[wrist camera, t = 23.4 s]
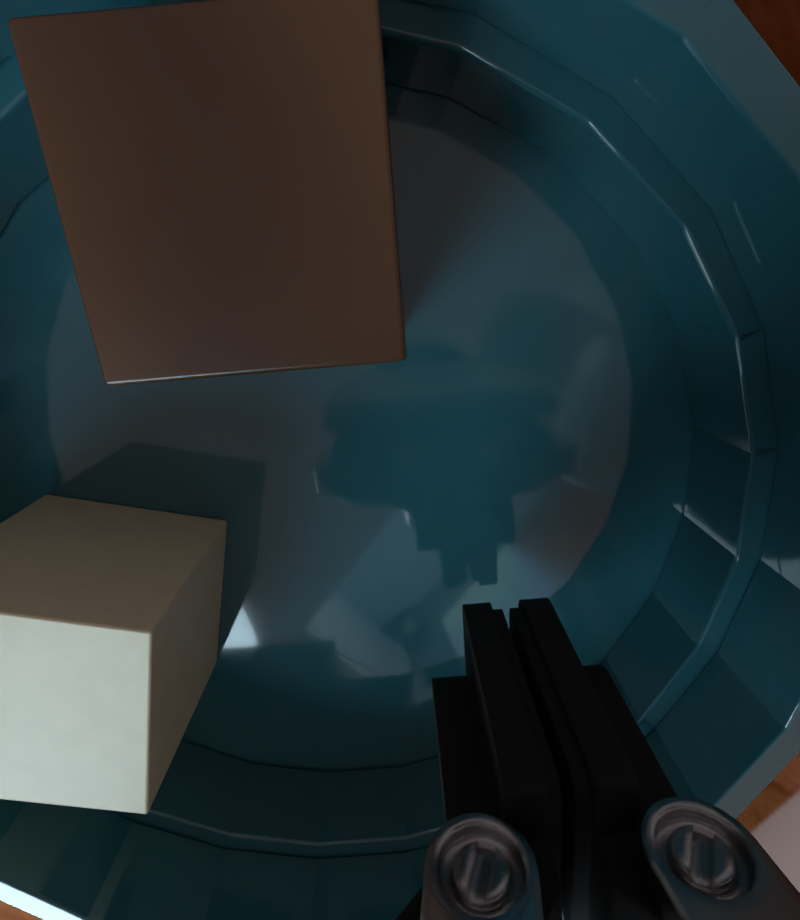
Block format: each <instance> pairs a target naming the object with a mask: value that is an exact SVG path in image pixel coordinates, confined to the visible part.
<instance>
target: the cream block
mask: <svg viewBox="0 0 800 920" xmlns="http://www.w3.org/2000/svg"><path fill="white" fill-rule="evenodd" d="M226 528H227V522H226V521H224V520H218V519H211V518H204V517H197V516H190V515H183V514H177V513H170V512H163V511H156V510H149V509H142V508H136V507H129V506H122V505H115V504H108V503H101V502H95V501H88V500H81V499H74V498H67V497H60V496H54V495H45V496H43V497H42V498H40V499H39V500H37V501H35V502H34V503H32V504H31V505H29V506H27V507H26V508H24V509H23V510H21V511H19V512H18V513H16V514H15V515H13V516H11V517H10V518H8V519H7V520H5V521H3V522H2V523H0V799H6V800H16V801H25V802H35V803H44V804H54V805H63V806H73V807H83V808H92V809H102V810H111V811H121V812H130V813H140V814H147V813H148V812H149V810H150V808H151V805H152V803H153V801H154V799H155V797H156V794H157V792H158V790H159V788H160V785H161V783H162V781H163V779H164V777H165V774H166V772H167V770H168V768H169V766H170V763H171V761H172V759H173V757H174V755H175V752H176V750H177V748H178V746H179V744H180V741H181V739H182V737H183V735H184V733H185V730H186V728H187V726H188V724H189V722H190V719H191V717H192V715H193V713H194V711H195V708H196V706H197V704H198V702H199V700H200V697H201V695H202V693H203V691H204V689H205V686H206V684H207V682H208V680H209V677H210V675H211V673H212V671H213V669H214V666H215V664H216V662H217V651H218V638H219V624H220V610H221V596H222V583H223V569H224V555H225V542H226Z"/></svg>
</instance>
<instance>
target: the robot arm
mask: <svg viewBox="0 0 800 920" xmlns="http://www.w3.org/2000/svg"><path fill="white" fill-rule="evenodd" d="M462 615H463V633H464V651H465V669H466V675H464V676H452V677H440V678H432V689H433V702H434V714H435V725H436V736H437V747H438V757H439V767H440V777H441V787H442V797H443V806H444V816H445V824H444V825H443V826H442V827H441V828H440V829H439V830H437V832H436V834H435V835H434V837H433V839H432V841H431V842H430V844H429V846H428V851H427V855H426V859H425V866H424V878H423V886H422V887H421V888H420V890H419V891H418V892H417V893H416V895H415V896H414V897H413V898H412V900H411V901H410V902H409V903H408V905H407V906H406V907H405V908H404V910H403V911H402V912H401V913H400V915H399V916H398V917H397V919H396V920H562V912H563V916H564V920H800V893H799V892H798V891H797V890H796V888H795V887H794V886H793V885H792V883H791V882H790V881H789V880H788V878H787V877H786V876H785V875H784V874H783V872H782V871H781V870H780V869H779V867H778V866H777V865H776V864H775V862H774V861H773V860H772V859H771V857H770V856H769V855H768V854H767V853H766V851H765V850H764V849H763V848H762V846H761V845H760V844H759V843H758V841H757V840H756V839H755V838H754V837H753V836H752V835H751V834H750V832H749V831H748V830H747V829H746V828H745V827H744V826H743V825H742V824H741V823H740V822H739V821H737V820H736V819H735V818H733V817H732V816H730V815H729V814H727V813H726V812H724V811H723V810H721V809H720V808H718V807H716V806H713V805H711V804H709V803H706V802H704V801H702V800H698V799H693V798H688V797H678V796H677V795H676V793H675V791H674V789H673V787H672V786H671V784H670V782H669V780H668V778H667V777H666V775H665V773H664V771H663V769H662V768H661V766H660V764H659V762H658V760H657V759H656V757H655V755H654V753H653V751H652V750H651V748H650V746H649V744H648V742H647V741H646V739H645V737H644V735H643V733H642V732H641V730H640V728H639V726H638V724H637V723H636V721H635V719H634V717H633V715H632V714H631V712H630V710H629V708H628V706H627V704H626V703H625V701H624V699H623V697H622V695H621V694H620V692H619V690H618V688H617V686H616V685H615V683H614V681H613V679H612V677H611V676H610V674H609V672H608V671H607V669H606V668H605V667H604V666H603V665H601V664H598V665H586V666H582V664H581V662H580V659H579V657H578V655H577V653H576V651H575V649H574V647H573V645H572V643H571V641H570V639H569V637H568V635H567V633H566V631H565V629H564V627H563V625H562V623H561V621H560V619H559V617H558V615H557V613H556V611H555V609H554V607H553V605H552V603H551V601H550V600H549V598H535V599H523V600H519V603H518V608H510V610H509V627H508V624H507V621H506V618H505V615H504V613H503V610H502V609H494V610H493V608H492V605H491V603H490V602H487V603H475V604H463V605H462Z"/></svg>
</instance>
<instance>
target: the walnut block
mask: <svg viewBox="0 0 800 920" xmlns="http://www.w3.org/2000/svg"><path fill="white" fill-rule="evenodd" d="M8 26H9V30H10V33H11V37H12V41H13V45H14V48H15V52H16V56H17V59H18V63H19V67H20V70H21V74H22V78H23V82H24V85H25V89H26V93H27V96H28V100H29V104H30V107H31V111H32V115H33V119H34V122H35V126H36V130H37V133H38V137H39V141H40V144H41V148H42V152H43V156H44V159H45V163H46V167H47V170H48V174H49V178H50V181H51V185H52V189H53V193H54V196H55V200H56V204H57V207H58V211H59V215H60V218H61V222H62V226H63V229H64V233H65V237H66V241H67V244H68V248H69V252H70V255H71V259H72V263H73V266H74V270H75V274H76V278H77V281H78V285H79V289H80V292H81V296H82V300H83V303H84V307H85V311H86V315H87V318H88V322H89V326H90V329H91V333H92V337H93V340H94V344H95V348H96V352H97V355H98V359H99V363H100V366H101V370H102V374H103V377H104V381H105V383H106V384H107V385H111V386H117V385H128V384H140V383H152V382H164V381H176V380H187V379H199V378H211V377H223V376H234V375H246V374H258V373H270V372H281V371H293V370H305V369H317V368H329V367H340V366H352V365H364V364H376V363H387V362H399V361H403V360H405V359H406V356H407V353H406V340H405V327H404V314H403V301H402V288H401V275H400V262H399V249H398V236H397V223H396V209H395V196H394V183H393V170H392V157H391V144H390V131H389V118H388V105H387V92H386V79H385V66H384V53H383V40H382V27H381V14H380V1H379V0H202V1H191V2H180V3H169V4H159V5H148V6H137V7H126V8H115V9H105V10H94V11H83V12H72V13H61V14H50V15H40V16H29V17H18V18H11V19H9V20H8Z"/></svg>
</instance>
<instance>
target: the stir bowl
mask: <svg viewBox="0 0 800 920" xmlns="http://www.w3.org/2000/svg"><path fill="white" fill-rule="evenodd" d="M191 1H202V0H0V523H2V522H3V521H5V520H7V519H8V518H10V517H11V516H13V515H15V514H16V513H18V512H19V511H21V510H23V509H24V508H26V507H27V506H29V505H31V504H32V503H34V502H35V501H37V500H39V499H40V498H42V497H43V496H45V495H54V496H60V497H67V498H74V499H81V500H88V501H95V502H101V503H108V504H115V505H122V506H129V507H136V508H142V509H149V510H156V511H163V512H170V513H177V514H183V515H190V516H197V517H204V518H211V519H218V520H224V521H226V522H227V528H226V542H225V555H224V569H223V583H222V596H221V610H220V624H219V638H218V651H217V662H216V664H215V666H214V669H213V671H212V673H211V675H210V677H209V680H208V682H207V684H206V686H205V689H204V691H203V693H202V695H201V697H200V700H199V702H198V704H197V706H196V708H195V711H194V713H193V715H192V717H191V719H190V722H189V724H188V726H187V728H186V730H185V733H184V735H183V737H182V739H181V741H180V744H179V746H178V748H177V750H176V752H175V755H174V757H173V759H172V761H171V763H170V766H169V768H168V770H167V772H166V774H165V777H164V779H163V781H162V783H161V785H160V788H159V790H158V792H157V794H156V797H155V799H154V801H153V803H152V805H151V808H150V810H149V812H148V813H147V814H140V813H130V812H121V811H111V810H102V809H92V808H83V807H73V806H63V805H54V804H44V803H35V802H25V801H16V800H6V799H0V901H2V902H5V903H7V904H9V905H11V906H14V907H16V908H18V909H20V910H23V911H25V912H27V913H29V914H31V915H34V916H36V917H38V918H40V919H43V920H396V919H397V917H398V916H399V915H400V913H401V912H402V911H403V910H404V908H405V907H406V906H407V905H408V903H409V902H410V901H411V900H412V898H413V897H414V896H415V895H416V893H417V892H418V891H419V890H420V888H421V887H422V886H423V878H424V866H425V859H426V855H427V851H428V846H429V844H430V842H431V841H432V839H433V837H434V835H435V834H436V832H437V830H439V829H440V828H441V827H442V826H443V825H444V824H445V816H444V806H443V797H442V787H441V777H440V767H439V757H438V747H437V736H436V725H435V714H434V702H433V689H432V678H440V677H452V676H464V675H466V669H465V651H464V633H463V615H462V605H463V604H475V603H487V602H490V603H491V605H492V608H493V610H494V609H502V610H503V613H504V615H505V618H506V621H507V624H508V627H509V610H510V608H518V603H519V600H523V599H535V598H549V600H550V601H551V603H552V605H553V607H554V609H555V611H556V613H557V615H558V617H559V619H560V621H561V623H562V625H563V627H564V629H565V631H566V633H567V635H568V637H569V639H570V641H571V643H572V645H573V647H574V649H575V651H576V653H577V655H578V657H579V659H580V662H581V664H582V666H586V665H598V664H601V665H603V666H604V667H605V668H606V669H607V671H608V672H609V674H610V676H611V677H612V679H613V681H614V683H615V685H616V686H617V688H618V690H619V692H620V694H621V695H622V697H623V699H624V701H625V703H626V704H627V706H628V708H629V710H630V712H631V714H632V715H633V717H634V719H635V721H636V723H637V724H638V726H639V728H640V730H641V732H642V733H643V735H644V737H645V739H646V741H647V742H648V744H649V746H650V748H651V750H652V751H653V753H654V755H655V757H656V759H657V760H658V762H659V764H660V766H661V768H662V769H663V771H664V773H665V775H666V777H667V778H668V780H669V782H670V784H671V786H672V787H673V789H674V791H675V793H676V795H677V796H678V797H688V798H693V799H698V800H702V801H704V802H706V803H709V804H711V805H713V806H716V807H718V808H720V809H721V810H723V811H724V812H726V813H727V814H729V815H730V816H732V817H733V818H735V819H736V818H737V817H738V816H739V815H740V814H741V813H742V812H743V811H744V810H745V809H746V808H747V807H748V806H749V805H750V803H751V802H752V801H753V800H754V799H755V798H756V797H757V796H758V795H759V794H760V793H761V792H762V791H763V790H764V789H765V787H766V786H767V785H768V784H769V783H770V782H771V781H772V780H773V779H774V778H775V777H776V776H777V775H778V774H779V772H780V771H781V770H782V769H783V768H784V767H785V766H786V765H787V764H788V763H789V762H790V761H791V760H792V759H793V757H794V756H795V755H796V754H797V753H798V752H799V751H800V86H799V84H798V83H797V82H796V81H795V79H794V78H793V77H792V75H791V74H790V73H789V71H788V70H787V69H786V68H785V66H784V65H783V64H782V62H781V61H780V60H779V58H778V57H777V56H776V54H775V53H774V52H773V51H772V49H771V48H770V47H769V45H768V44H767V43H766V41H765V40H764V39H763V38H762V36H761V35H760V34H759V32H758V31H757V30H756V28H755V27H754V26H753V25H752V23H751V22H750V21H749V19H748V18H747V17H746V15H745V14H744V13H743V12H742V10H741V9H740V8H739V6H738V5H737V4H736V2H735V1H734V0H379V1H380V14H381V27H382V40H383V53H384V66H385V79H386V92H387V105H388V118H389V131H390V144H391V157H392V170H393V183H394V196H395V209H396V223H397V236H398V249H399V262H400V275H401V288H402V301H403V314H404V327H405V340H406V353H407V356H406V359H405V360H403V361H399V362H387V363H376V364H364V365H352V366H340V367H329V368H317V369H305V370H293V371H281V372H270V373H258V374H246V375H234V376H223V377H211V378H199V379H187V380H176V381H164V382H152V383H140V384H128V385H117V386H111V385H107V384H106V383H105V381H104V377H103V374H102V370H101V366H100V363H99V359H98V355H97V352H96V348H95V344H94V340H93V337H92V333H91V329H90V326H89V322H88V318H87V315H86V311H85V307H84V303H83V300H82V296H81V292H80V289H79V285H78V281H77V278H76V274H75V270H74V266H73V263H72V259H71V255H70V252H69V248H68V244H67V241H66V237H65V233H64V229H63V226H62V222H61V218H60V215H59V211H58V207H57V204H56V200H55V196H54V193H53V189H52V185H51V181H50V178H49V174H48V170H47V167H46V163H45V159H44V156H43V152H42V148H41V144H40V141H39V137H38V133H37V130H36V126H35V122H34V119H33V115H32V111H31V107H30V104H29V100H28V96H27V93H26V89H25V85H24V82H23V78H22V74H21V70H20V67H19V63H18V59H17V56H16V52H15V48H14V45H13V41H12V37H11V33H10V30H9V26H8V20H9V19H11V18H18V17H29V16H40V15H50V14H61V13H72V12H83V11H94V10H105V9H115V8H126V7H137V6H148V5H159V4H169V3H180V2H191ZM562 920H564V916H563V912H562Z"/></svg>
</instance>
